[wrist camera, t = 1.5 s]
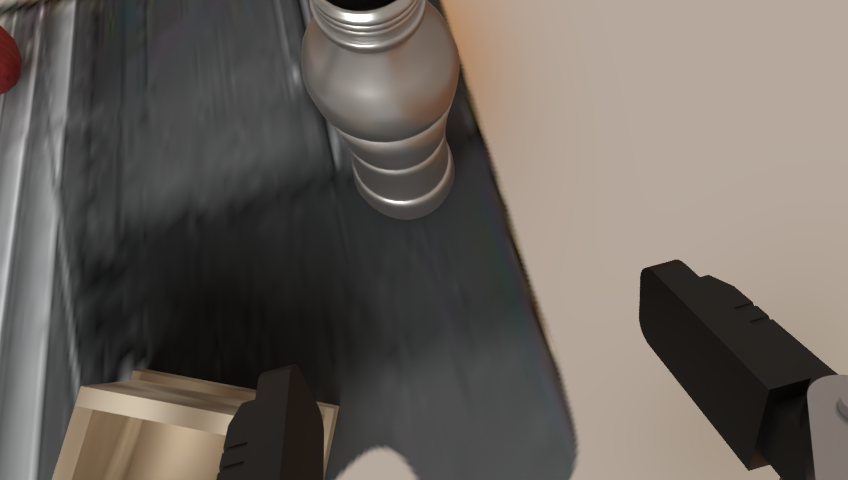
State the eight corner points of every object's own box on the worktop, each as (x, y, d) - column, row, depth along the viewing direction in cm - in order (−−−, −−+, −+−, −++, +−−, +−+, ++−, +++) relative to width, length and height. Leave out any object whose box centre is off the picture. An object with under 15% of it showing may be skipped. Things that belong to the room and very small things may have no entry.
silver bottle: (424, 244, 33) (403, 98, 14) (341, 197, 34) (211, -2, 15) (470, 167, 34) (511, -70, 15) (388, 123, 35) (326, -153, 16)
